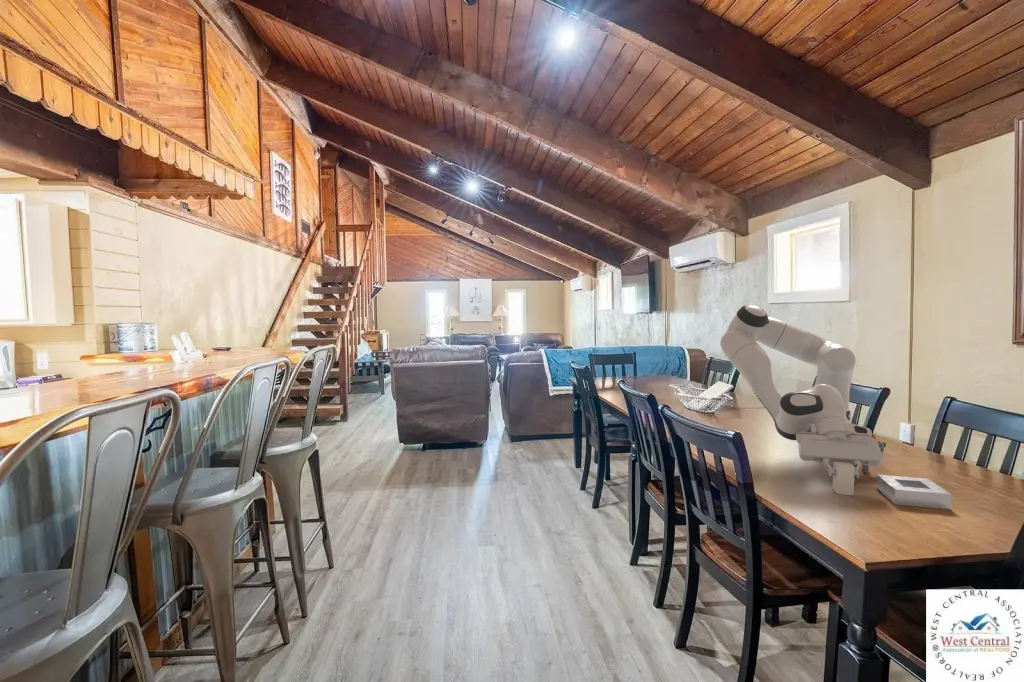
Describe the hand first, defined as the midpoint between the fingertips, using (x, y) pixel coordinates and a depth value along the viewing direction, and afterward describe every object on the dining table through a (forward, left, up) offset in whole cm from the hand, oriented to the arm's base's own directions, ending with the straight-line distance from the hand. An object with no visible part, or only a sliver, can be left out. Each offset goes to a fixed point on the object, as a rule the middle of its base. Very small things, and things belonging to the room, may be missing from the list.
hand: (844, 475), depth 134 cm
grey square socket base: (-1, +16, -5) cm, 17 cm away
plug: (-1, 0, -5) cm, 5 cm away
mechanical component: (-22, +12, -5) cm, 25 cm away
